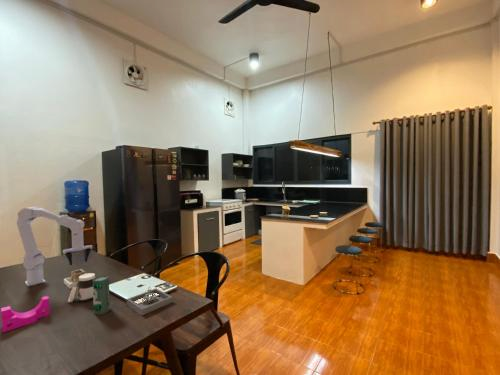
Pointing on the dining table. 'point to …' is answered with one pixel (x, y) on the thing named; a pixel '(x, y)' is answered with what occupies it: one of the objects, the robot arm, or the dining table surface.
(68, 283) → the white square tray
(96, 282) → the can
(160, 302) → the grey square tray
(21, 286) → the dining table surface
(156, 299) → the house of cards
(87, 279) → the spread jar
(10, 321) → the magenta saddle bracket
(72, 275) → the pine crate
